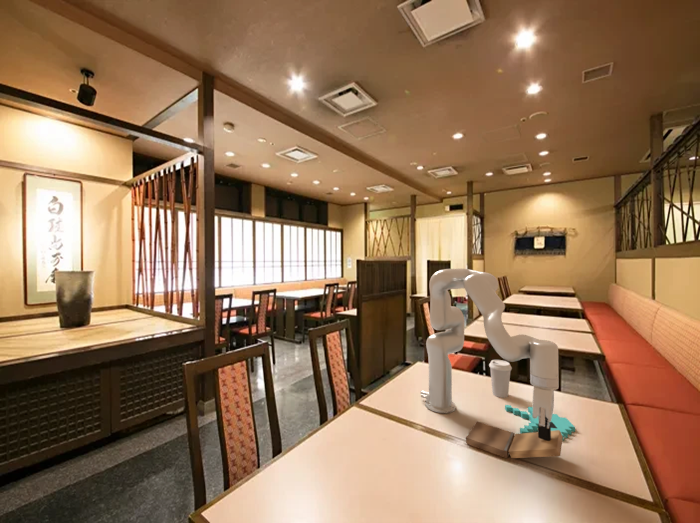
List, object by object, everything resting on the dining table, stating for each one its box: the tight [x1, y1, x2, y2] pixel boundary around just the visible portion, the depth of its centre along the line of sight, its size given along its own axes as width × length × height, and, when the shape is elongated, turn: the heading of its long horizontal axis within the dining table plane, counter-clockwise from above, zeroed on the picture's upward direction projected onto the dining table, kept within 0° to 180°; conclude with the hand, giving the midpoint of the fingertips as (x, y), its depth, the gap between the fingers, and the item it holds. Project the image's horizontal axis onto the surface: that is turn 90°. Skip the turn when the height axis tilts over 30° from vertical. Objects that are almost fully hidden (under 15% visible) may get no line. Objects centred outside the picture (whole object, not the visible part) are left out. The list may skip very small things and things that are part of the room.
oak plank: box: [508, 430, 563, 459], centre depth 96 cm, size 14×12×2 cm
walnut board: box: [465, 420, 516, 459], centre depth 105 cm, size 13×13×2 cm
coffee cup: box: [488, 359, 513, 399], centre depth 141 cm, size 10×10×15 cm
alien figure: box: [504, 404, 576, 442], centre depth 115 cm, size 20×2×20 cm
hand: (544, 438), depth 95 cm, fingers closed
